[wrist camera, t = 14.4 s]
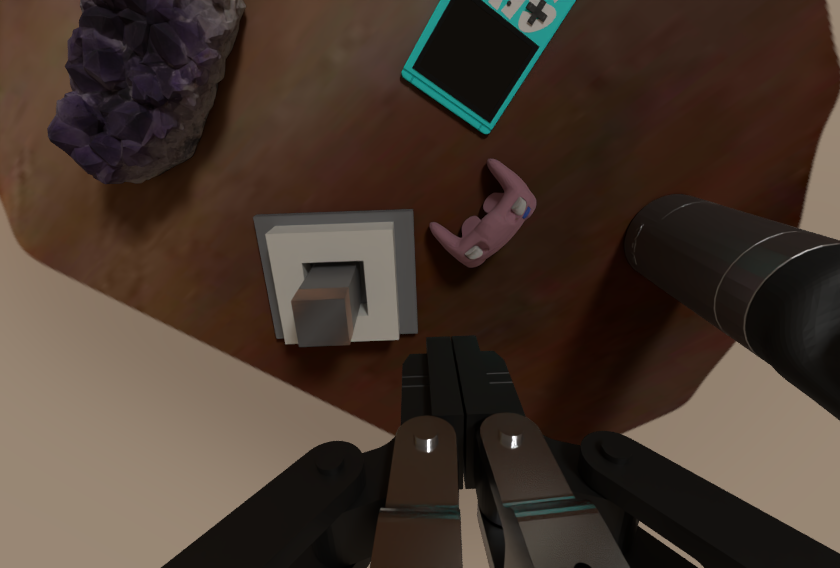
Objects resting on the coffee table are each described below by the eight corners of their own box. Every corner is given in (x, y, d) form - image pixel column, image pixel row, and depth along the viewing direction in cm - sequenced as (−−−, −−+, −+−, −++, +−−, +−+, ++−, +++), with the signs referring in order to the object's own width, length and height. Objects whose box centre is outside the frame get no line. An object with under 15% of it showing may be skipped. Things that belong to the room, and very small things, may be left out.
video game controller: (449, 244, 45) (478, 283, 40) (422, 225, 42) (450, 265, 37) (514, 175, 42) (553, 208, 38) (490, 150, 39) (529, 182, 35)
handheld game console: (596, -30, 35) (603, -36, 34) (487, 138, 40) (489, 138, 39) (502, -112, 33) (505, -121, 32) (399, 76, 38) (398, 75, 37)
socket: (412, 209, 42) (413, 218, 38) (417, 328, 47) (418, 347, 44) (256, 214, 42) (241, 224, 38) (279, 334, 47) (268, 352, 44)
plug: (358, 258, 43) (344, 298, 34) (362, 296, 45) (349, 344, 35) (316, 260, 43) (290, 300, 34) (321, 298, 45) (298, 347, 35)
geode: (213, 206, 42) (139, 230, 32) (106, 153, 41) (-1, 162, 32) (273, -12, 34) (199, -62, 25) (143, -81, 33) (16, -160, 24)
